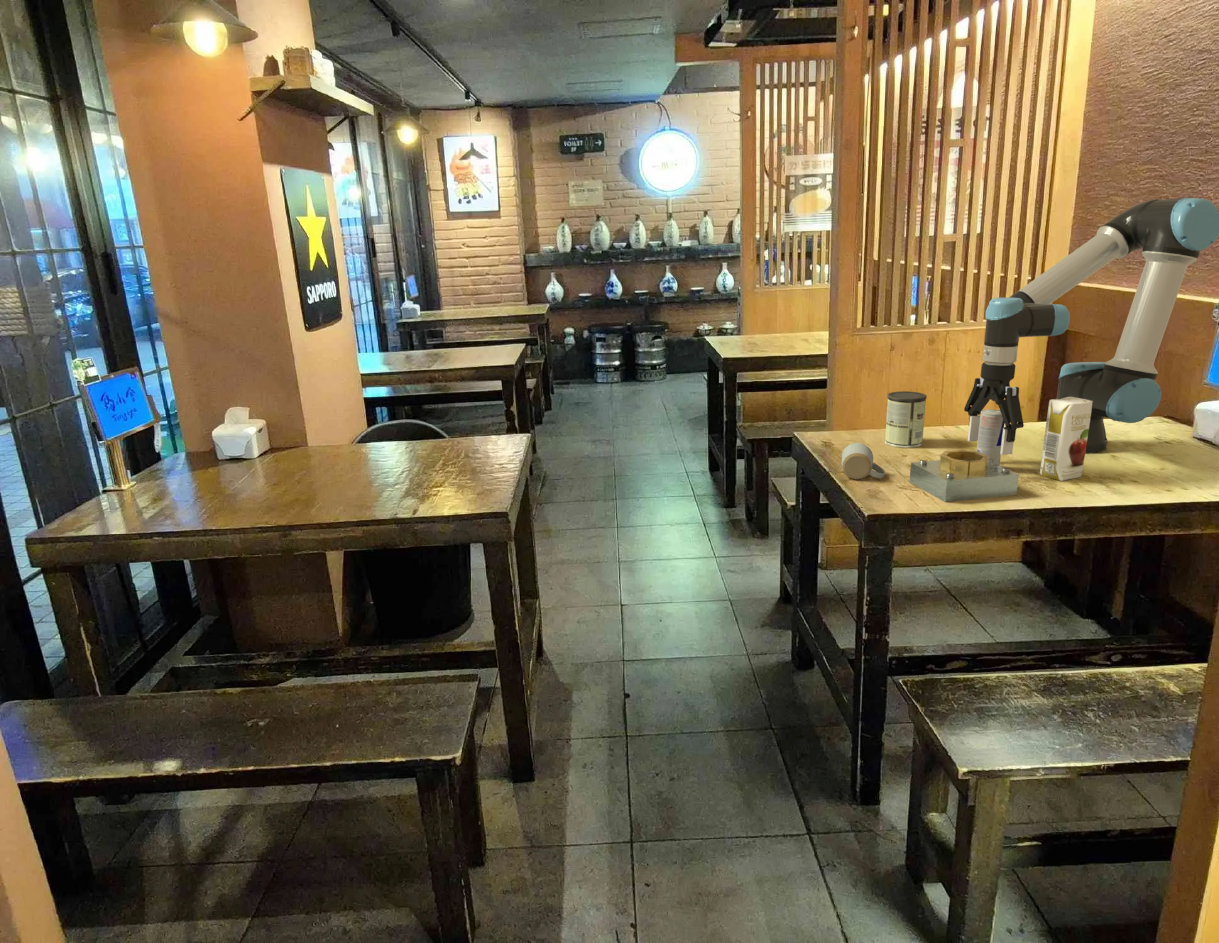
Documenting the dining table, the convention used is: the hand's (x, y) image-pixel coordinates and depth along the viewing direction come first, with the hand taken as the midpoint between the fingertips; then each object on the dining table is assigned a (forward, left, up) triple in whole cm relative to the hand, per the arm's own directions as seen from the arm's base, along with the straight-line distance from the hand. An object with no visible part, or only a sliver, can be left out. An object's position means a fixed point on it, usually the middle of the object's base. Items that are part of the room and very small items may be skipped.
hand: (989, 447), depth 203 cm
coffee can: (+7, -28, -6) cm, 29 cm away
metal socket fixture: (+15, +12, -6) cm, 20 cm away
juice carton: (-13, +10, -6) cm, 17 cm away
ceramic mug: (+32, -4, -6) cm, 33 cm away
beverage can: (0, 0, -6) cm, 6 cm away
